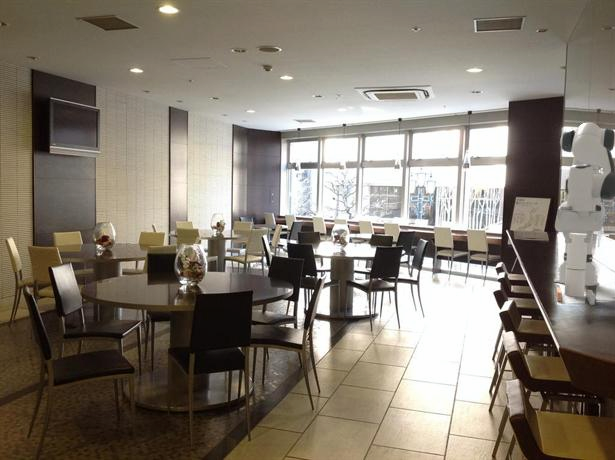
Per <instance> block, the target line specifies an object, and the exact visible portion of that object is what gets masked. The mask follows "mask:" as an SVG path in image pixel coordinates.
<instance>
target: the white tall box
mask: <svg viewBox="0 0 615 460" xmlns="http://www.w3.org/2000/svg"><path fill="white" fill-rule="evenodd" d="M586 236H587V234H578V233H570V234H569V237H570V239H572V242H571V243H568V246H567V262H566V263H567V264H566V279H565V284H564V295H565V296H567V297H575V298H583V297H585V287H586V286H585V275H586V259H587V243H584V238H586Z"/></svg>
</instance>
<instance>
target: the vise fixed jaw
mask: <svg viewBox="0 0 615 460" xmlns="http://www.w3.org/2000/svg"><path fill="white" fill-rule="evenodd" d="M586 291H587V292H586V299H587V301H588V303H589V304H590V305H591V306H592V305H593V306H595V305H596V304H595V302H596V294H595V293H594V292H593V290H592V289H587V290H586Z"/></svg>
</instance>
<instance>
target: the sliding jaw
mask: <svg viewBox="0 0 615 460" xmlns="http://www.w3.org/2000/svg"><path fill="white" fill-rule="evenodd" d="M554 293H555V297H556V298H555V299H556V301H558V302H562V298H563V297H562V295H563V292H562V290H561V287H560V284H555V289H554Z"/></svg>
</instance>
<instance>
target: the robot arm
mask: <svg viewBox="0 0 615 460" xmlns="http://www.w3.org/2000/svg"><path fill="white" fill-rule="evenodd" d="M559 140H560V141H559V144H560V147H561V149H562V150H563V152H566V153H572V155H573V161H572V164H571V166H570V169H569V173H568V177H567V178H566V179H565V188H564V189H565V193H566V194H567V196H566V197H567V198H566V201H564V202H562V203H561V204H560V205H559V206H558V208H557V211H556V216H555V217H556V218H555V222H554V228H555V231H556V232H562V235H563V237H564V243H565V247H564V248H565V250H564V251H565V252H564V253H563V262H562V263H561V264H559V266H558V270H557V273H558V276H559V277H557V278H555V279H553V280H554V282H555V283H561V284H564V285H565V279H566V264H567V263H566V262H567V246H568V243H571V242H572V239H570V237H569V234H570V233H578V234H587V236H586V238H584V243H587V259H586V275H585V287H586V286H588V287H589V286H590V287H591V286H600V282H599V281H596V271H597V269H596V266H595V265H594V264H593V258H594V257H593V235H594V232H600V231H601V230H602V228H603V224H604V223H603V221H604V220H603V219H604V218H605V216H606V208H605V206H604V204H603V203H602V202H601V200H607V201H608V200H610V201H611V200H612V199H614V198H615V163H614V159H613V155H612V151H613V150H614V148H615V130H613V129H611V128H602V127H601V128H600V126H599V125H598V124H597V123H594V122H585V123H582V124H580V125H579V126H578V127H577V128H569V129H566V130H564V131H563V133H562V135H561V137H560V139H559ZM599 168H602V172H603V173H599V170H600V169H599Z"/></svg>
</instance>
